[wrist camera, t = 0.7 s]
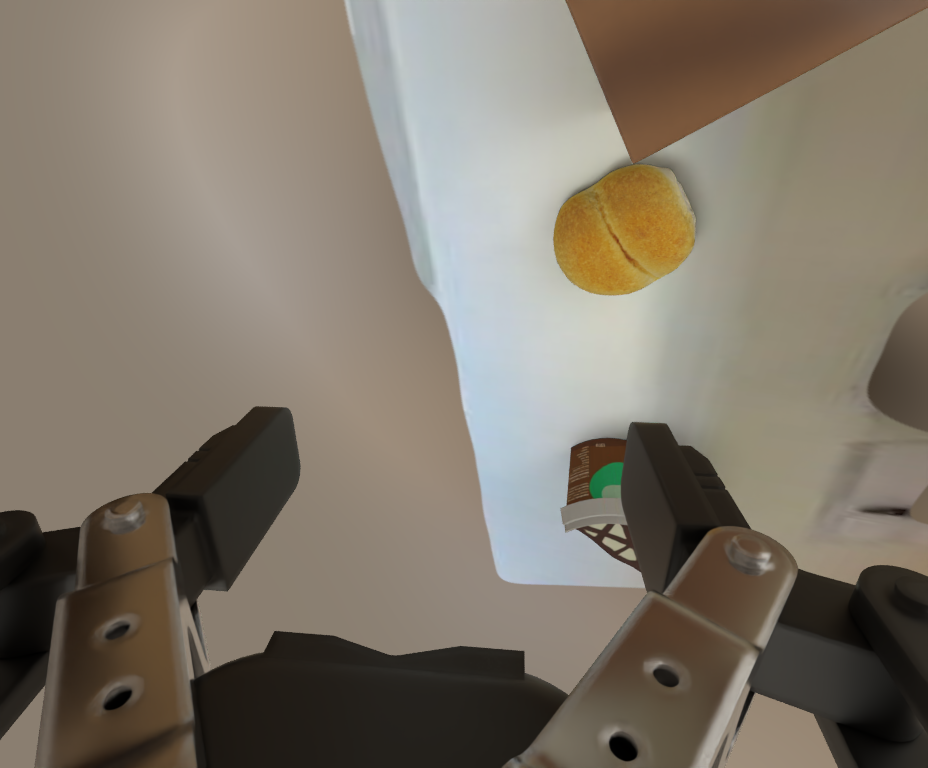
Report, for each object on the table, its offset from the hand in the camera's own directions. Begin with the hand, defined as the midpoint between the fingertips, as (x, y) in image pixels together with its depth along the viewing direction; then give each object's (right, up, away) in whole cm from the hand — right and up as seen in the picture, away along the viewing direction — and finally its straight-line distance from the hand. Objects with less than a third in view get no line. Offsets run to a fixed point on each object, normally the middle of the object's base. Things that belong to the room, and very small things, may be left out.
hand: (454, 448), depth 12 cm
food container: (+16, -5, +37) cm, 41 cm away
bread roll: (+11, +13, +23) cm, 28 cm away
